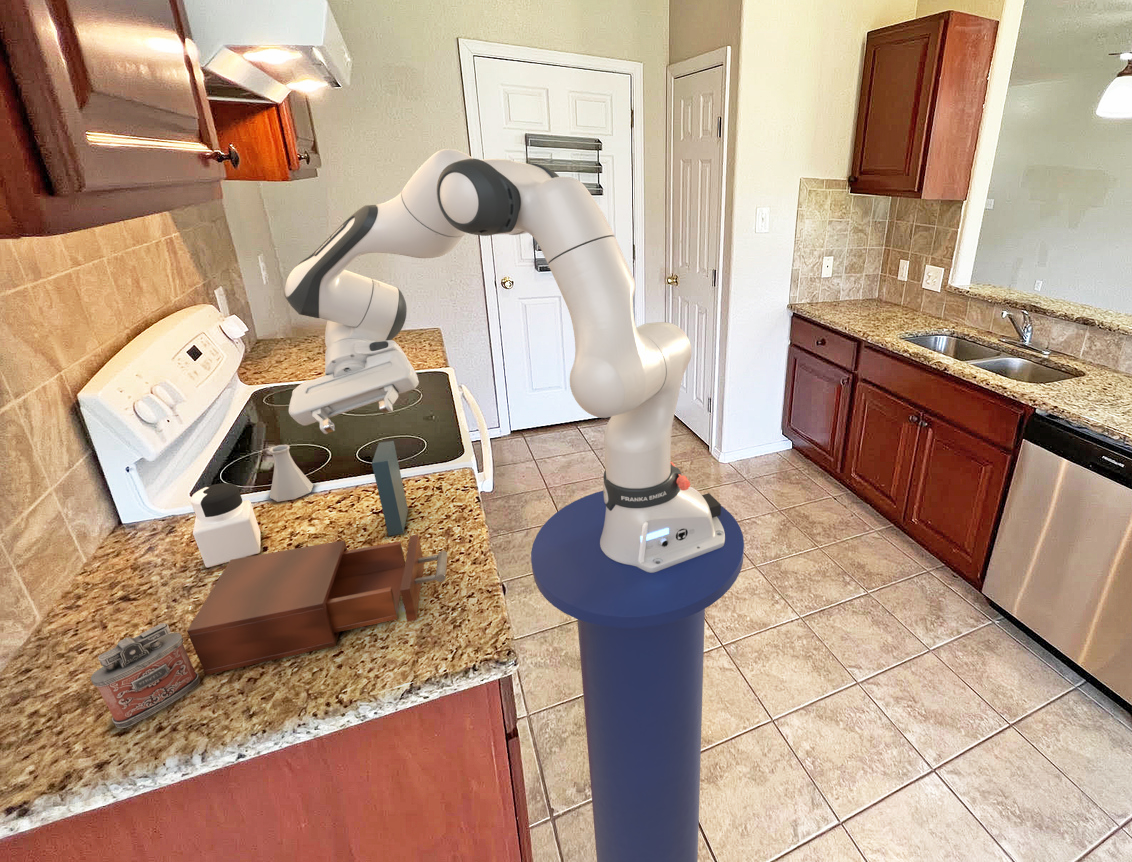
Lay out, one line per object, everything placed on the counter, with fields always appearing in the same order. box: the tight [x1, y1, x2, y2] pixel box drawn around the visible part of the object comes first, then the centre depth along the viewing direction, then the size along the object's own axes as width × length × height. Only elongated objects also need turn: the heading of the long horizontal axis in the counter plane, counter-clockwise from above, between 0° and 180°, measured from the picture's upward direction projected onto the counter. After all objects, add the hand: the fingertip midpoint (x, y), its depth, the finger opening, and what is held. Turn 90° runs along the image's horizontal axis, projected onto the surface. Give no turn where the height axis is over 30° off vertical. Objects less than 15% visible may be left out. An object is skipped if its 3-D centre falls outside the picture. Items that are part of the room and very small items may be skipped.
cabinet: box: [186, 539, 349, 676], centre depth 82 cm, size 15×15×8 cm
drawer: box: [326, 534, 449, 633], centre depth 86 cm, size 18×13×6 cm
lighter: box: [90, 622, 201, 729], centre depth 69 cm, size 8×3×10 cm, turn 151°
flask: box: [268, 443, 314, 502], centre depth 112 cm, size 7×7×10 cm
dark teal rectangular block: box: [371, 440, 409, 537], centre depth 103 cm, size 2×8×15 cm, turn 21°
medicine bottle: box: [189, 482, 261, 568], centre depth 95 cm, size 7×7×12 cm
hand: (357, 420), depth 96 cm, fingers open, 8 cm apart
